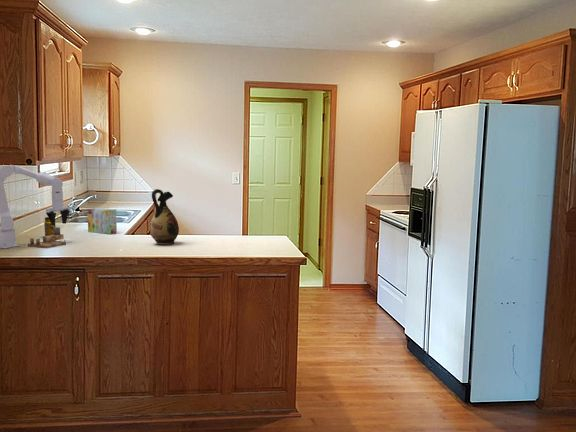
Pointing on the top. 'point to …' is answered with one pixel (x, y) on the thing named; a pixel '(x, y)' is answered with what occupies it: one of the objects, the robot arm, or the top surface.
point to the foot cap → (57, 231)
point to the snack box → (102, 220)
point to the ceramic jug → (163, 220)
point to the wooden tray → (44, 243)
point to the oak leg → (54, 237)
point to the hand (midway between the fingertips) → (58, 224)
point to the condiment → (48, 227)
